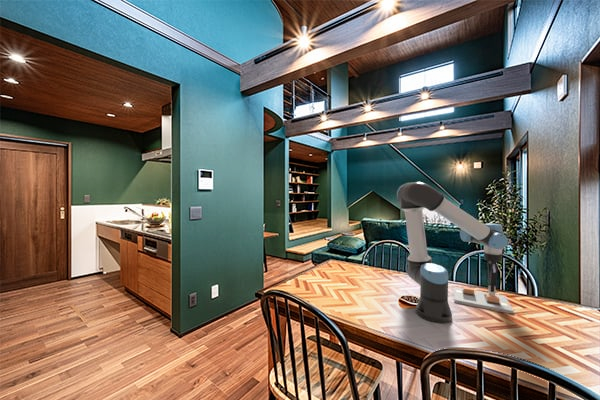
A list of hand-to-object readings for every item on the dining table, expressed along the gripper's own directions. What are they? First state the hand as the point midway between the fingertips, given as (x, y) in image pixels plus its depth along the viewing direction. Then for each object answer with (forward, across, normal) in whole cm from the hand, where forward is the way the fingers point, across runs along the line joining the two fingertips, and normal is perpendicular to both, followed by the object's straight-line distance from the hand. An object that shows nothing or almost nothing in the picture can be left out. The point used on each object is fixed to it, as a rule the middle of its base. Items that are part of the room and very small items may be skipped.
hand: (491, 296), depth 128 cm
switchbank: (+3, 0, +5) cm, 6 cm away
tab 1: (+1, +4, +10) cm, 11 cm away
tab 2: (+1, -2, 0) cm, 3 cm away
